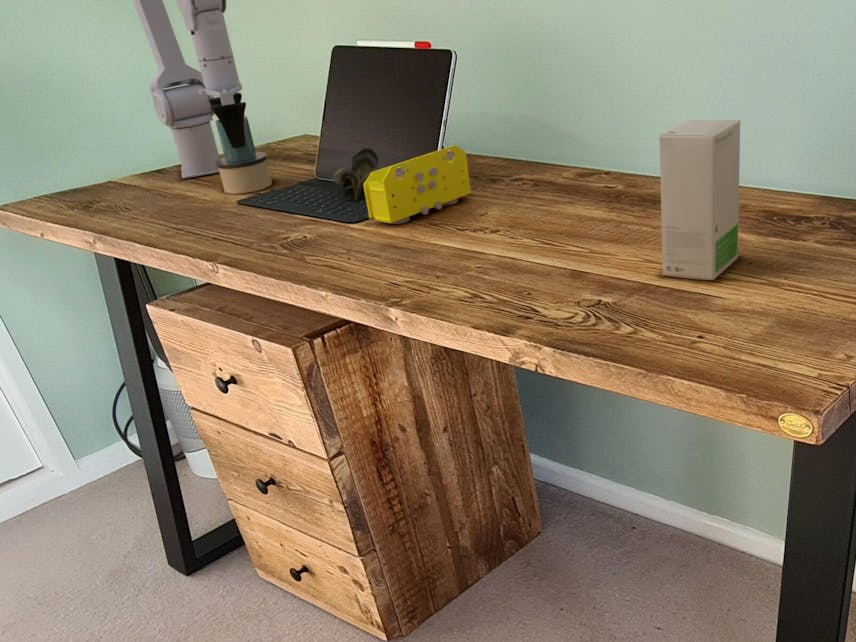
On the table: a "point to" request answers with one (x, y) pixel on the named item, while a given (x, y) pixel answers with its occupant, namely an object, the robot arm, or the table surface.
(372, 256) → the table surface
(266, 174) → the jar
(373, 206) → the yellow toy chassis
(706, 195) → the cosmetic box
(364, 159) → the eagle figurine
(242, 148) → the cup
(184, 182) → the table surface
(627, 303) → the table surface
